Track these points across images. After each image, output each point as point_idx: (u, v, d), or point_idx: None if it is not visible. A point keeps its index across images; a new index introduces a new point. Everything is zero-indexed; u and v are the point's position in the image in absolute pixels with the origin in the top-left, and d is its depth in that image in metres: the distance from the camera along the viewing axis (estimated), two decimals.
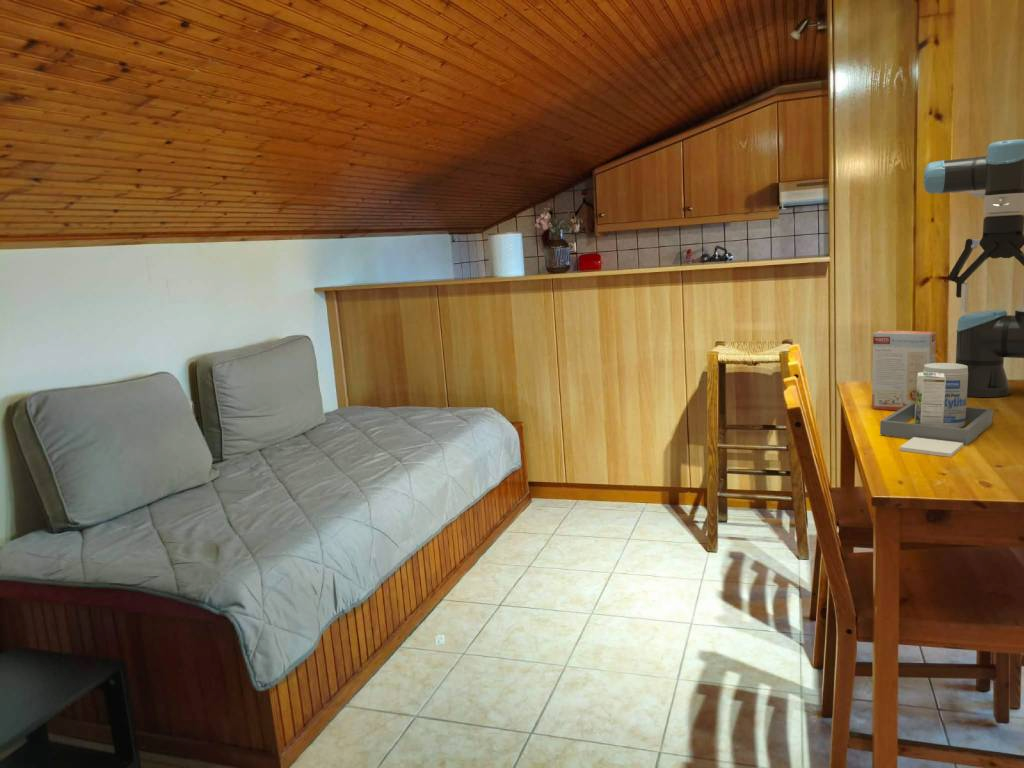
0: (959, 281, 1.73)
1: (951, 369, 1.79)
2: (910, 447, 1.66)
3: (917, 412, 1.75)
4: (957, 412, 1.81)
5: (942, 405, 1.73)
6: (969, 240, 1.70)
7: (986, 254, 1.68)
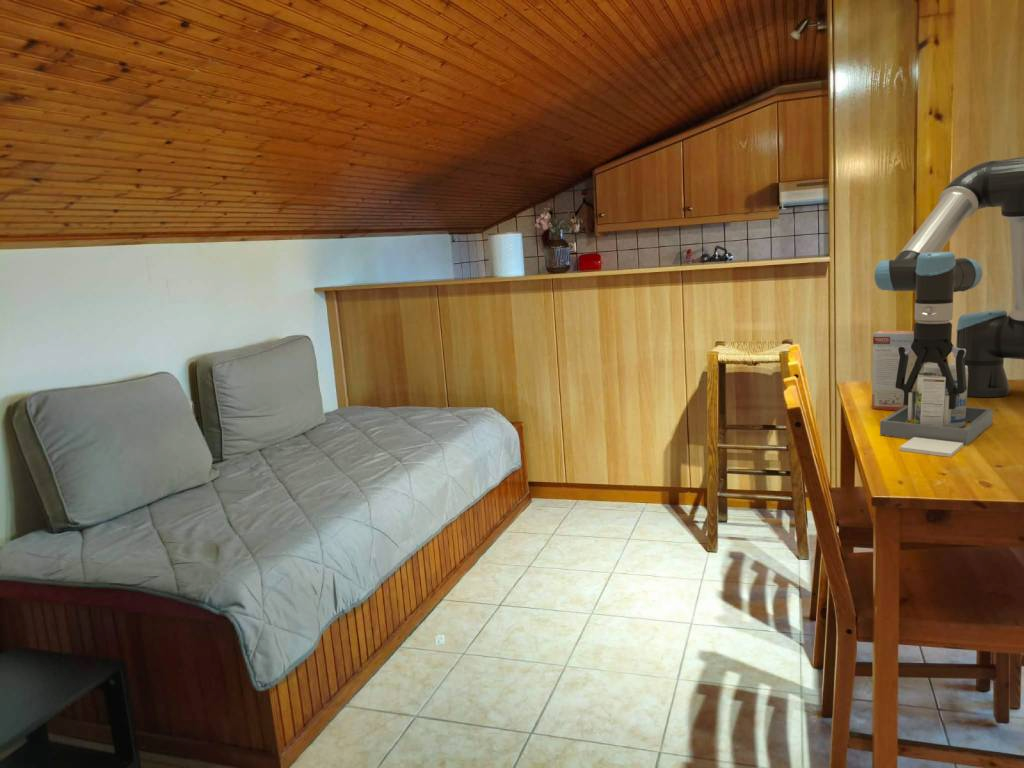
0: (906, 390, 1.78)
1: (951, 369, 1.79)
2: (910, 447, 1.66)
3: (917, 412, 1.75)
4: (957, 412, 1.81)
5: (942, 405, 1.73)
6: (901, 348, 1.77)
7: (920, 360, 1.74)
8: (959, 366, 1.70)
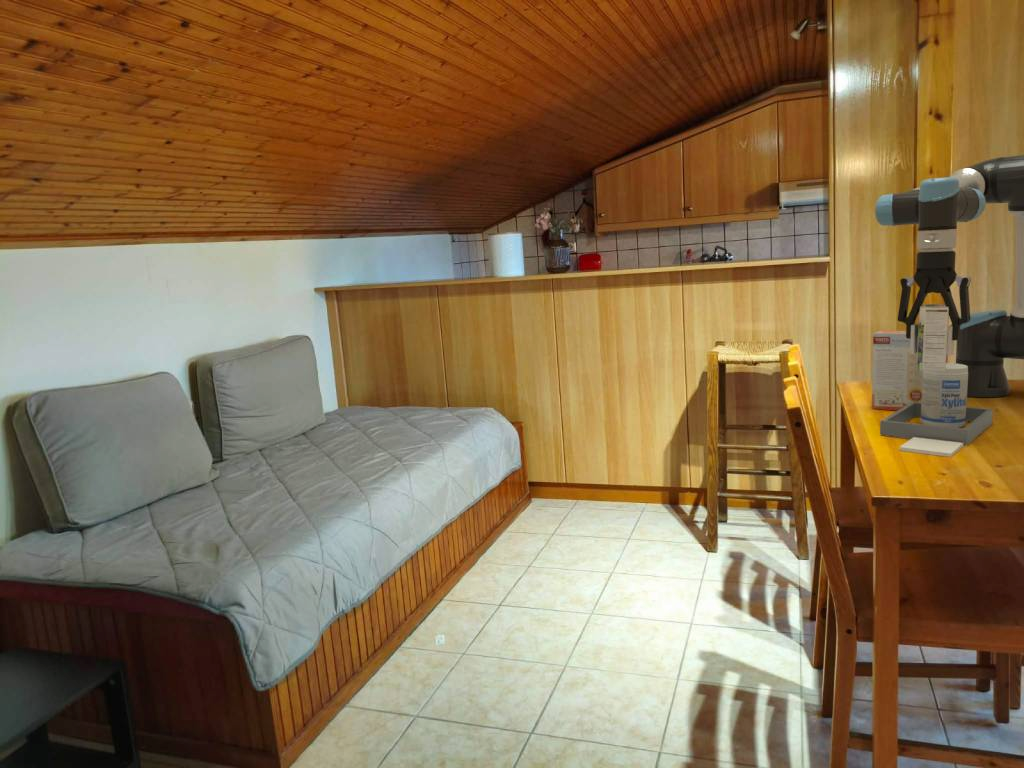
0: (909, 322, 1.73)
1: (951, 369, 1.79)
2: (910, 447, 1.66)
3: (919, 344, 1.71)
4: (957, 412, 1.81)
5: (945, 336, 1.68)
6: (903, 279, 1.73)
7: (923, 290, 1.70)
8: (963, 295, 1.65)
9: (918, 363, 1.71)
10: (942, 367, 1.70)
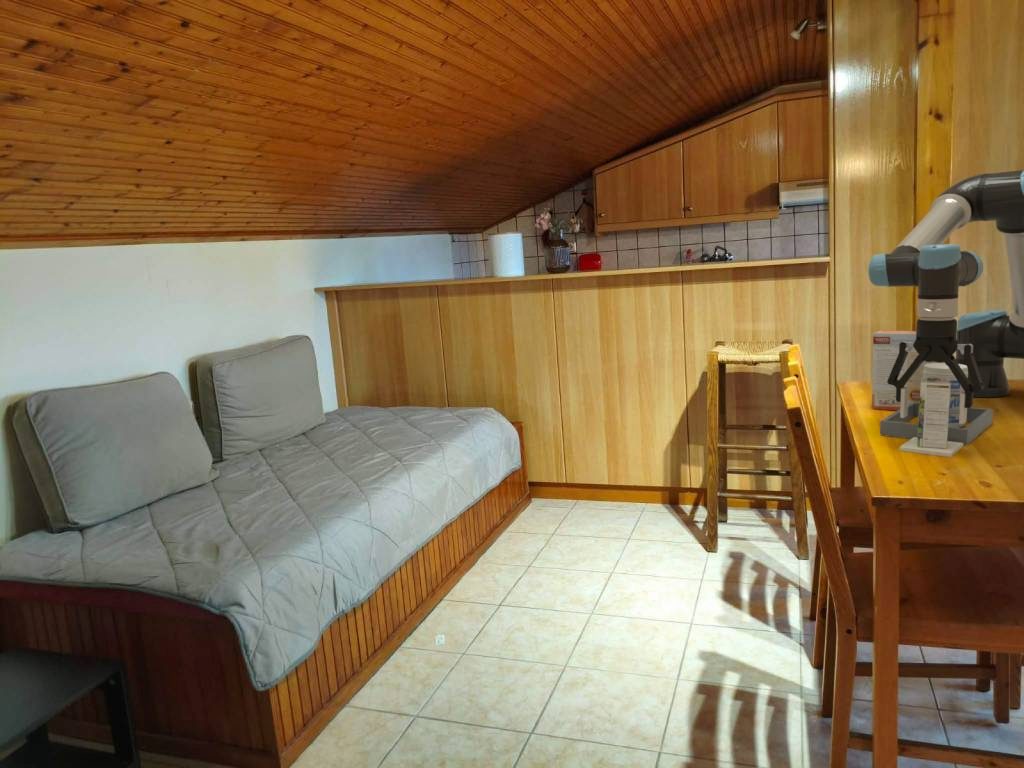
0: (898, 386, 1.68)
1: None
2: (910, 447, 1.66)
3: (920, 420, 1.65)
4: (957, 412, 1.81)
5: (946, 412, 1.62)
6: (902, 343, 1.66)
7: (921, 358, 1.64)
8: (969, 362, 1.58)
9: (918, 439, 1.66)
10: (943, 444, 1.63)
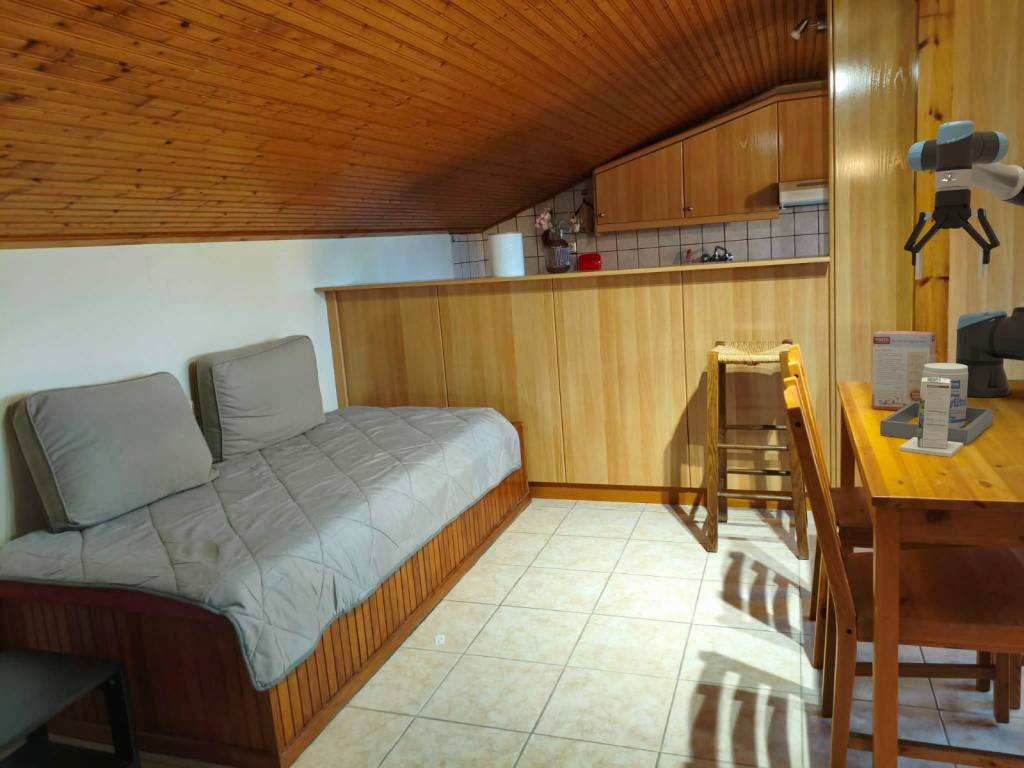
0: (914, 251, 1.90)
1: (951, 369, 1.79)
2: (910, 447, 1.66)
3: (920, 420, 1.65)
4: (957, 412, 1.81)
5: (947, 413, 1.62)
6: (922, 213, 1.87)
7: (937, 225, 1.85)
8: (984, 223, 1.79)
9: (918, 439, 1.66)
10: (943, 444, 1.63)
